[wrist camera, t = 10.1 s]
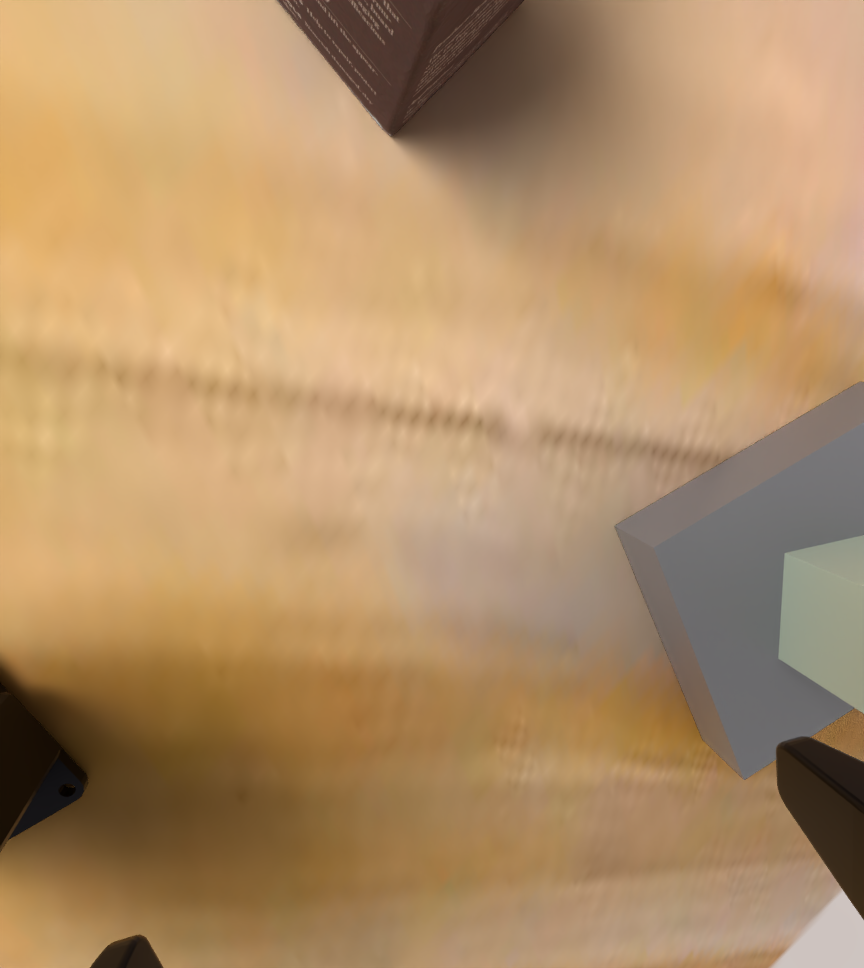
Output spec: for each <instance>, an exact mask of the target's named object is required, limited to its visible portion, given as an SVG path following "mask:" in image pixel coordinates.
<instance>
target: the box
mask: <svg viewBox="0 0 864 968" xmlns="http://www.w3.org/2000/svg"><path fill="white" fill-rule="evenodd" d="M277 1H278V2H279V3H280V4H281V5H282V7H283V8H284V9H285V10H286V11H287V12H288V13H289V14H290V15H291V17H292V18H293V20H294V21H295V22H296V24H297V25H298V26H299V27H300V28H301V29H302V30H303V31H304V33H305V34H306V35H307V37H308V38H309V39H310V41H311V42H312V43H313V44H314V45H315V46H316V48H317V49H318V50H319V52H320V53H321V54H322V55H323V56H324V58H325V59H326V60H327V62H328V63H329V64H330V65H331V66H332V67H333V69H334V70H335V71H336V72H337V73H338V75H339V76H340V78H341V79H342V80H343V81H344V82H345V84H346V85H347V86H348V87H349V89H350V90H351V91H352V93H353V94H354V95H355V96H356V97H357V98H358V99H359V100H360V102H361V104H362V105H363V106H364V108H365V109H366V111H367V112H369V114H370V115H371V116H372V118H373V119H374V120H375V121H376V122H377V124H378V125H379V126H380V127H381V128H382V129H383V130H384V131H386V133H387V134H388V135H390V136H392V135H394V134H395V133H396V132H398V131H399V130H400V129H401V127H402V126H403V125H404V124H405V123H406V122H407V121H408V120H409V119H410V118H411V117H412V116H413V115H414V114H415V113H416V112H417V111H418V110H419V109H420V108H421V107H422V106H423V105H424V103H425V102H426V101H427V100H428V99H429V98H430V97H431V96H433V95H434V94H435V93H436V92H437V90H438V89H439V88H440V87H441V86H442V85H443V84H444V83H445V82H446V81H447V80H448V79H449V78H450V77H451V76H452V75H453V74H454V73H455V72H456V71H457V70H458V69H459V68H460V67H461V66H462V65H463V64H464V63H465V62H466V61H467V59H468V58H469V57H470V56H471V55H472V54H473V53H474V52H475V51H476V50H477V49H478V48H480V46H481V45H482V44H483V43H484V42H485V41H486V40H487V39H488V38H489V37H490V36H491V34H492V33H493V32H494V31H495V30H496V29H497V28H498V27H499V26H500V25H501V24H502V23H503V22H504V21H505V20H506V19H507V18H508V16H509V15H510V14H511V13H512V12H513V11H514V10H515V9H516V8H517V7H518V6H519V5H520V4H521V3H522V2H523V1H524V0H277Z"/></svg>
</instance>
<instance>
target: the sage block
mask: <svg viewBox="0 0 864 968" xmlns="http://www.w3.org/2000/svg"><path fill="white" fill-rule="evenodd" d="M778 659H780V660H781V661H783V662H784V663H786V664H788V665H789V666H791V667H792V668H794V669H795V670H797V671H798V672H800V673H802V674H803V675H805V676H806V677H808V678H809V679H811V680H812V681H814V682H815V683H817V684H819V685H820V686H822V687H823V688H825V689H826V690H828V691H829V692H831V693H832V694H834V695H836V696H837V697H839V698H840V699H842V700H843V701H845V702H846V703H848V704H850V705H851V706H853V707H854V708H856V709H857V710H859V711H860V712H862V713H863V714H864V535H862V536H858V537H854V538H849V539H845V540H840V541H836V542H831V543H827V544H823V545H818V546H814V547H809V548H805V549H800V550H796V551H791V552H787V553H785V554H784V571H783V588H782V605H781V622H780V639H779V656H778Z"/></svg>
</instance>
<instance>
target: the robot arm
mask: <svg viewBox="0 0 864 968" xmlns="http://www.w3.org/2000/svg"><path fill="white" fill-rule="evenodd" d="M776 767H777V786H778V790H779V794H780V796H781V798H782V800H783V802H784V804H785V805H786V807H787V809H788V810H789V811H790V813H791V814H792V816H793V817H794V819H795V820H796V822H797V823H798V825H799V826H800V828H801V829H802V831H803V832H804V834H805V835H806V836H807V838H808V839H809V841H810V842H811V844H812V845H813V847H814V848H815V850H816V851H817V853H818V854H819V856H820V857H821V858H822V860H823V861H824V863H825V864H826V866H827V867H828V869H829V870H830V872H831V873H832V875H833V876H834V878H835V879H836V880H837V882H838V883H839V885H840V886H841V888H842V889H843V891H844V892H845V894H846V895H847V897H848V898H849V900H850V901H851V903H852V904H853V905H854V907H855V908H856V909H857V911H858V912H859V914H860V915H861V917H862V918H863V919H864V762H863V761H860V760H858V759H856V758H854V757H852V756H850V755H848V754H845V753H843V752H841V751H839V750H837V749H835V748H832V747H830V746H828V745H826V744H824V743H822V742H820V741H817V740H815V739H813V738H810V737H806V736H800V737H796V738H793V739H789V740H786V741H783V742H780V743H779V744H778V745H777V747H776ZM64 784H72V785H73V786H75V787H74V788H70V787H67V786H65V785H64ZM87 784H88V777H87V775H86V773H85V772H84V771H83V770H82V769H81V768H80V767H79V766H78V765H77V764H76V763H75V762H74V761H73V760H72V759H71V757H70V756H69V755H68V754H67V753H66V752H65V751H64V750H63V749H62V748H61V747H60V745H59V744H58V743H57V742H56V741H55V739H54V738H53V737H52V736H51V735H50V734H49V733H48V732H47V731H46V730H45V729H44V728H43V727H42V726H41V725H40V724H39V722H38V721H37V720H36V719H35V718H34V717H33V716H32V715H31V714H30V713H29V712H28V711H27V710H26V709H25V708H24V707H23V705H22V704H21V703H20V702H19V701H18V700H17V699H16V698H15V697H14V696H13V695H12V694H10V693H9V692H8V691H7V689H6V688H5V687H4V686H3V685H2V684H1V683H0V852H1V851H2V849H3V847H4V846H5V844H6V842H7V841H8V840H9V839H11V838H12V837H14V836H16V835H18V834H19V833H21V832H23V831H25V830H26V829H28V828H30V827H31V826H33V825H35V824H37V823H38V822H40V821H42V820H43V819H45V818H47V817H49V816H50V815H52V814H54V813H56V812H57V811H59V810H61V809H62V808H64V807H66V806H68V805H69V804H71V803H73V802H75V801H76V800H78V799H79V798H80V797H81V796H82V794H83V792H84V790H85V788H86V786H87ZM90 968H163V966H162V964H161V963H160V961H159V959H158V957H157V956H156V954H155V952H154V950H153V949H152V947H151V945H150V943H149V941H148V940H147V938H146V937H144V936H142V935H135V936H132V937H128V938H125V939H122V940H118V941H115V942H113V943H111V944H110V945H108V946H107V947H106V948H105V949H104V950H103V952H102V953H101V954H100V955H99V957H98V958H97V959H96V960H95V962H94V963H93V964H92V966H91V967H90Z"/></svg>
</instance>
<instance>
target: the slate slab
mask: <svg viewBox="0 0 864 968" xmlns="http://www.w3.org/2000/svg"><path fill="white" fill-rule="evenodd" d="M615 528H616V531H617V533H618V536H619V538H620V541H621V543H622V545H623V548H624V550H625V553H626V555H627V558H628V560H629V562H630V565H631V567H632V570H633V572H634V575H635V577H636V579H637V582H638V584H639V587H640V589H641V592H642V594H643V596H644V599H645V601H646V604H647V606H648V609H649V611H650V613H651V616H652V618H653V621H654V623H655V626H656V628H657V630H658V633H659V635H660V638H661V640H662V643H663V645H664V647H665V650H666V652H667V655H668V657H669V660H670V662H671V664H672V667H673V669H674V672H675V674H676V677H677V679H678V682H679V684H680V686H681V689H682V691H683V694H684V696H685V699H686V701H687V703H688V706H689V708H690V711H691V713H692V716H693V718H694V720H695V723H696V725H697V728H698V730H699V733H700V735H701V737H702V740H703V741H704V742H705V743H706V744H707V745H708V746H710V747H711V748H712V749H713V750H714V751H715V752H716V753H717V754H718V755H719V756H720V757H721V758H722V759H723V760H724V761H725V762H726V763H727V764H728V765H729V766H730V767H731V768H732V769H733V770H734V771H735V772H736V773H737V774H738V775H739V776H740V777H741V778H742V779H743V780H745V779H747V778H748V777H750V776H751V775H753V774H754V773H756V772H757V771H759V770H761V769H762V768H764V767H765V766H767V765H768V764H770V763H771V762H773V761H774V760H776V747H777V745H778V744H779V743H780V742H783V741H786V740H789V739H793V738H796V737H800V736H806V737H811V736H813V735H814V734H816V733H817V732H819V731H820V730H822V729H823V728H825V727H826V726H828V725H829V724H831V723H833V722H834V721H836V720H837V719H839V718H840V717H842V716H843V715H845V714H846V713H848V712H849V711H851V710H852V709H854V707H853V706H851V705H850V704H848V703H846V702H845V701H843V700H842V699H840V698H839V697H837V696H836V695H834V694H832V693H831V692H829V691H828V690H826V689H825V688H823V687H822V686H820V685H819V684H817V683H815V682H814V681H812V680H811V679H809V678H808V677H806V676H805V675H803V674H802V673H800V672H798V671H797V670H795V669H794V668H792V667H791V666H789V665H788V664H786V663H784V662H783V661H781V660H780V659H778V656H779V639H780V622H781V605H782V588H783V571H784V554H785V553H787V552H791V551H796V550H800V549H805V548H809V547H814V546H818V545H823V544H827V543H831V542H836V541H840V540H845V539H849V538H854V537H858V536H862V535H864V382H858V383H857V384H855V385H853V386H852V387H850V388H848V389H847V390H845V391H843V392H841V393H840V394H838V395H836V396H835V397H833V398H831V399H830V400H828V401H826V402H824V403H823V404H821V405H819V406H818V407H816V408H814V409H813V410H811V411H809V412H807V413H806V414H804V415H802V416H801V417H799V418H797V419H796V420H794V421H792V422H790V423H789V424H787V425H785V426H784V427H782V428H780V429H778V430H777V431H775V432H773V433H772V434H770V435H768V436H767V437H765V438H763V439H761V440H760V441H758V442H756V443H755V444H753V445H751V446H750V447H748V448H746V449H744V450H743V451H741V452H739V453H738V454H736V455H734V456H733V457H731V458H729V459H727V460H726V461H724V462H722V463H721V464H719V465H717V466H716V467H714V468H712V469H710V470H709V471H707V472H705V473H704V474H702V475H700V476H699V477H697V478H695V479H693V480H692V481H690V482H688V483H687V484H685V485H683V486H682V487H680V488H678V489H676V490H675V491H673V492H671V493H670V494H668V495H666V496H665V497H663V498H661V499H659V500H658V501H656V502H654V503H653V504H651V505H649V506H647V507H646V508H644V509H642V510H641V511H639V512H637V513H636V514H634V515H632V516H630V517H629V518H627V519H625V520H624V521H622V522H620V523H619V524H617V525H615Z"/></svg>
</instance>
